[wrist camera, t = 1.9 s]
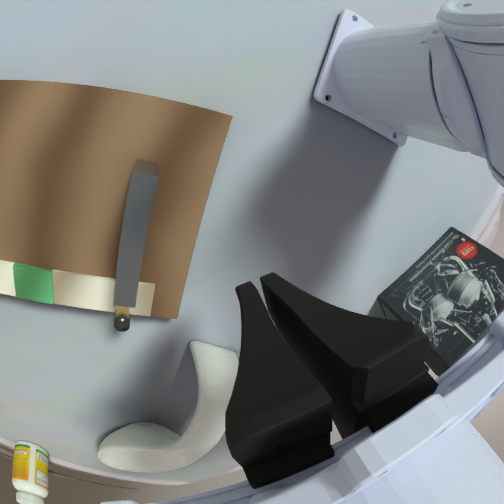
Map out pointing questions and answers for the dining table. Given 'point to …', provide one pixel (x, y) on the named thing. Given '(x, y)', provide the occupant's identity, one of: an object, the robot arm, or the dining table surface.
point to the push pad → (133, 239)
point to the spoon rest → (197, 434)
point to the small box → (449, 297)
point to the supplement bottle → (30, 473)
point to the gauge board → (99, 191)
